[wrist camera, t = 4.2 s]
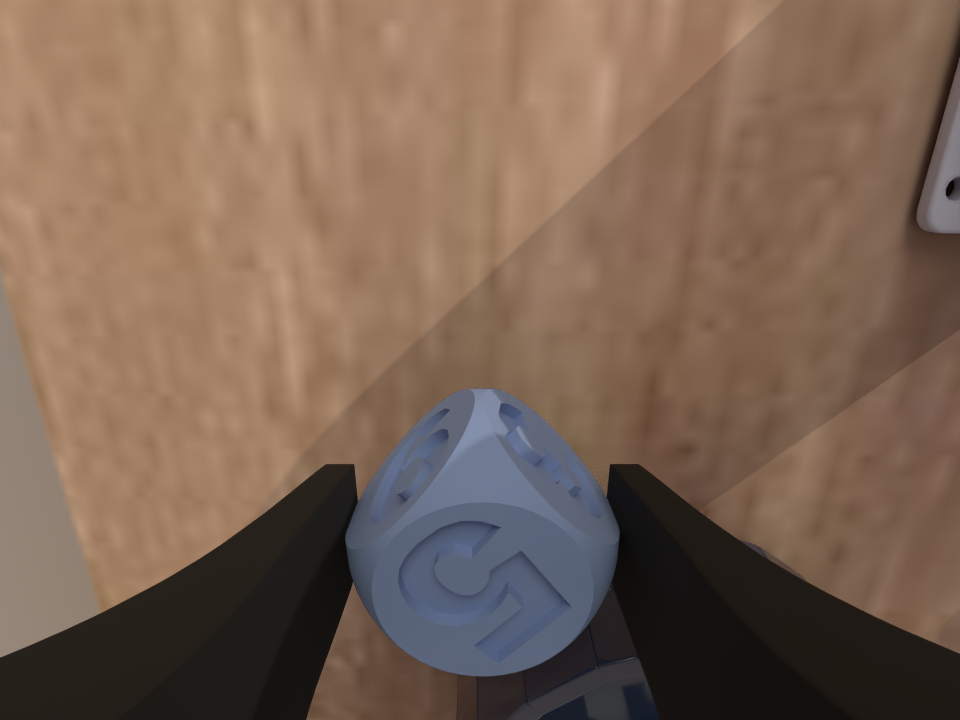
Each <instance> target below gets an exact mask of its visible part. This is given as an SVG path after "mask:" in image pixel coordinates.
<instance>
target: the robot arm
mask: <svg viewBox="0 0 960 720" xmlns="http://www.w3.org/2000/svg"><path fill="white" fill-rule="evenodd" d="M952 180H953V181H954V189H953V191H952V193H951V195H949V196H948V197H947V196H946V188H947V186H948V184H949V182H951V181H952ZM916 220H917V222H918V225H919V226H920V227H921V228H922V229H923V230H924V231H929V232H935V233H960V59H959V62H958V66H957V69H956V73H955V77H954V80H953V84H952V87H951V91H950V94H949V98H948V102H947V105H946V109H945V112H944V116H943V119H942V123H941V127H940V130H939V134H938V137H937V141H936V144H935V148H934V152H933V155H932V159H931V162H930V166H929V169H928V173H927V177H926V180H925V184H924V187H923V191H922V194H921V198H920V202H919V205H918V209H917V216H916ZM607 499H608V501H609V504H610V506H611V509H612V511H613V514H614V517H615V519H616V522H617V524H618V527H619V531H620V536H619V548H618V558H617V563H616V568H615V572H614V575H613V578H612V581H611V582H612V586H613V589H614V592H615V595H616V597H617V600H618V603H619V606H620V609H621V611H622V614H623V617H624V620H625V622H626V625H627V628H628V631H629V633H630V636H631V639H632V641H633V644H634V647H635V650H636V652H637V655H638V658H639V661H640V663H641V666H642V669H643V671H644V674H645V677H646V680H647V682H648V685H649V688H650V691H651V694H652V697H653V700H654V703H655V706H656V710H657V713H658V716H659V720H960V654H959V653H957V652H954V651H952V650H949V649H947V648H945V647H942V646H940V645H938V644H935V643H933V642H931V641H928V640H926V639H924V638H921V637H919V636H917V635H914V634H912V633H909V632H907V631H905V630H903V629H900V628H898V627H896V626H894V625H892V624H889V623H887V622H885V621H883V620H881V619H879V618H876V617H874V616H872V615H870V614H868V613H866V612H864V611H862V610H860V609H858V608H856V607H854V606H852V605H850V604H848V603H846V602H844V601H842V600H840V599H838V598H836V597H834V596H832V595H830V594H828V593H826V592H824V591H822V590H821V589H819V588H817V587H815V586H813V585H811V584H810V583H808V582H806V581H804V580H802V579H801V578H799V577H797V576H796V575H794V574H792V573H790V572H789V571H787V570H785V569H784V568H782V567H780V566H779V565H777V564H775V563H773V562H772V561H770V560H768V559H767V558H765V557H764V556H762V555H761V554H759V553H757V552H756V551H754V550H753V549H751V548H750V547H748V546H747V545H745V544H744V543H742V542H741V541H739V540H738V539H737V538H735V537H734V536H732V535H731V534H729V533H728V532H726V531H725V530H723V529H722V528H721V527H719V526H718V525H717V524H715V523H714V522H712V521H711V520H710V519H708V518H707V517H706V516H704V515H703V514H702V513H700V512H699V511H698V510H696V509H695V508H694V507H693V506H691V505H690V504H689V503H687V502H686V501H685V500H684V499H682V498H681V497H680V496H678V495H677V494H676V493H675V492H673V491H672V490H671V489H670V488H668V487H667V486H666V485H665V484H663V483H662V482H661V481H660V480H658V479H657V478H656V477H655V476H653V475H652V474H651V473H650V472H648V471H647V470H646V469H644V468H643V467H642V466H640V465H639V464H610V471H609V481H608V491H607ZM357 503H358V499H357V488H356V478H355V468H354V464H326V465H325V466H323V467H322V468H320V469H319V470H318V471H317V472H315V473H314V474H313V475H312V476H310V477H309V478H308V479H307V480H305V481H304V482H303V483H302V484H300V485H299V486H298V487H297V488H296V489H294V490H293V491H292V492H291V493H289V494H288V495H287V496H286V497H284V498H283V499H282V500H281V501H279V502H278V503H277V504H276V505H274V506H273V507H272V508H271V509H269V510H268V511H267V512H265V513H264V514H263V515H262V516H260V517H259V518H257V519H256V520H255V521H253V522H252V523H251V524H249V525H248V526H246V527H245V528H244V529H242V530H241V531H239V532H238V533H237V534H235V535H234V536H233V537H231V538H230V539H228V540H227V541H226V542H224V543H223V544H221V545H220V546H218V547H217V548H215V549H214V550H212V551H211V552H209V553H208V554H206V555H205V556H203V557H202V558H200V559H198V560H197V561H195V562H194V563H192V564H190V565H189V566H187V567H185V568H184V569H182V570H180V571H179V572H177V573H175V574H174V575H172V576H170V577H169V578H167V579H165V580H163V581H162V582H160V583H158V584H156V585H154V586H152V587H150V588H148V589H147V590H145V591H143V592H141V593H139V594H137V595H135V596H133V597H131V598H129V599H127V600H126V601H124V602H122V603H120V604H118V605H116V606H114V607H112V608H110V609H108V610H107V611H105V612H103V613H100V614H98V615H96V616H94V617H92V618H90V619H88V620H86V621H84V622H81V623H79V624H77V625H75V626H73V627H71V628H69V629H66V630H64V631H62V632H60V633H57V634H55V635H53V636H50V637H48V638H46V639H44V640H41V641H39V642H37V643H34V644H32V645H30V646H28V647H25V648H23V649H20V650H18V651H15V652H13V653H11V654H8V655H6V656H3V657H1V658H0V720H306V718H307V714H308V711H309V708H310V705H311V701H312V698H313V695H314V692H315V689H316V686H317V683H318V680H319V677H320V675H321V672H322V669H323V666H324V663H325V661H326V658H327V655H328V652H329V649H330V647H331V644H332V641H333V638H334V635H335V633H336V630H337V627H338V624H339V622H340V619H341V616H342V613H343V610H344V607H345V604H346V602H347V599H348V596H349V593H350V590H351V587H352V584H353V579H352V576H351V572H350V568H349V563H348V556H347V549H346V541H345V536H346V532H347V529H348V527H349V524H350V521H351V519H352V516H353V513H354V511H355V508H356V505H357Z"/></svg>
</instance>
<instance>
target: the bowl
mask: <svg viewBox="0 0 960 720" xmlns="http://www.w3.org/2000/svg"><path fill="white" fill-rule="evenodd" d="M739 541H741V540H739ZM741 542H742V543H744V544H745V545H747V546H748V547H750V548H751V549H753V550H754V551H756V552H757V553H759V554H761V555H762V556H764V557H765V558H767V559H768V560H770V561H772V562H773V563H775V564H777V565H779V566H780V567H782V568H784V569H785V570H787V571H789V572H790V573H792V574H794V575H796V576H797V577H799V578H801V579H802V580H804V581H806V580H805V579H804V578H803V577H802V576H801V575H800V574H799V573H797V572H796V571H794V570H793V569H791V568H790V567H788V566H787V565H786V564H784V563H783V562H781V561H780V560H778V559H777V558H775V557H774V556H772V555H771V554H769V553H768V552H767V551H765V550H764V549H762V548H761V547H759V546H757V545H755V544H751V543H748V542H744V541H741ZM806 582H807V581H806ZM457 720H659V716H658V713H657V710H656V706H655V703H654V700H653V697H652V694H651V691H650V688H649V685H648V682H647V680H646V677H645V674H644V671H643V669H642V666H641V663H640V661H639V658H638V655H637V652H636V650H635V647H634V644H633V641H632V639H631V636H630V633H629V631H628V628H627V625H626V622H625V620H624V617H623V614H622V611H621V609H620V606H619V603H618V600H617V597H616V595H615V592H614V589H613V586H612V582H611V584H610V587H609V589H608V591H607V594H606V596H605V598H604V600H603V602H602V604H601V606H600V607H599V609H598V611H597V612H596V614H595V615H594V617H593V618H592V620H591V621H590V622H589V624H588V625H587V626H586V628H585V629H584V630H583V631H582V632H581V633H580V634H579V636H578V637H577V638H576V639H575V640H574V641H573V642H571V643H570V644H569V645H568V646H567V647H566V648H564V649H563V650H562V651H560V652H559V653H557V654H556V655H554V656H553V657H551V658H550V659H548V660H546V661H544V662H542V663H541V664H538V665H536V666H534V667H531V668H528V669H525V670H522V671H519V672H515V673H510V674H505V675H497V676H467V675H460V674H458V696H457Z"/></svg>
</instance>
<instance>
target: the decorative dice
mask: <svg viewBox="0 0 960 720" xmlns="http://www.w3.org/2000/svg"><path fill="white" fill-rule="evenodd" d="M619 536H620V531H619V527H618V524H617V522H616V519H615V517H614V514H613V511H612V509H611V506H610V504H609V501H608V499H607V497H606V496H605V494H604V492H603V490H602V489H601V487H600V486H599V484H598V483H597V481H596V480H595V478H594V477H593V475H592V474H591V472H590V471H589V470H588V468H587V467H586V466H585V464H584V463H583V462H582V460H581V459H580V458H579V457H578V455H577V454H576V453H575V452H574V451H573V450H572V448H571V447H570V446H569V445H568V444H567V443H566V442H565V440H564V439H563V438H562V437H561V436H560V435H559V434H558V433H557V432H556V431H555V430H554V429H553V428H552V427H551V426H550V425H549V424H548V423H547V422H546V421H545V420H544V419H543V418H541V417H540V416H539V415H538V414H537V413H536V412H535V411H533V410H532V409H531V408H530V407H528V406H527V405H526V404H524V403H523V402H522V401H520V400H519V399H517V398H515V397H514V396H512V395H510V394H508V393H506V392H504V391H502V390H498V389H482V388H476V389H464V390H460V391H458V392H456V393H453V394H452V395H450V396H448V397H447V398H445V399H444V400H443V401H441V402H440V403H439V404H437V405H436V406H435V407H434V408H432V409H431V410H430V411H429V412H428V413H427V414H426V415H425V416H424V417H422V418H421V419H420V420H419V421H418V422H417V423H416V424H415V425H414V426H413V428H412V429H411V430H410V431H409V432H408V433H407V434H406V435H405V436H404V437H403V439H402V440H401V441H400V442H399V443H398V444H397V446H396V447H395V448H394V449H393V451H392V452H391V453H390V454H389V456H388V457H387V458H386V460H385V461H384V462H383V464H382V465H381V466H380V468H379V469H378V471H377V472H376V473H375V475H374V476H373V478H372V479H371V481H370V482H369V484H368V486H367V487H366V489H365V491H364V492H363V494H362V496H361V497H360V499H359V501H358V503H357V505H356V508H355V511H354V513H353V516H352V519H351V521H350V524H349V527H348V529H347V532H346V536H345V541H346V549H347V556H348V563H349V568H350V572H351V576H352V579H353V582H354V585H355V587H356V590H357V592H358V594H359V596H360V598H361V600H362V602H363V604H364V606H365V608H366V609H367V611H368V613H369V614H370V616H371V617H372V619H373V620H374V621H375V623H376V624H377V625H378V627H379V628H380V629H381V630H382V631H383V632H384V633H385V634H386V636H387V637H388V638H389V639H390V640H391V641H393V642H394V643H395V644H396V645H397V646H398V647H399V648H401V649H402V650H403V651H405V652H406V653H408V654H409V655H411V656H412V657H414V658H415V659H417V660H419V661H421V662H423V663H425V664H427V665H429V666H432V667H434V668H437V669H440V670H443V671H446V672H450V673H455V674H460V675H467V676H497V675H505V674H510V673H515V672H519V671H522V670H525V669H528V668H531V667H534V666H536V665H538V664H541V663H542V662H544V661H546V660H548V659H550V658H551V657H553V656H554V655H556V654H557V653H559V652H560V651H562V650H563V649H564V648H566V647H567V646H568V645H569V644H570V643H571V642H573V641H574V640H575V639H576V638H577V637H578V636H579V634H580V633H581V632H582V631H583V630H584V629H585V628H586V626H587V625H588V624H589V622H590V621H591V620H592V618H593V617H594V615H595V614H596V612H597V611H598V609H599V607H600V606H601V604H602V602H603V600H604V598H605V596H606V594H607V591H608V589H609V587H610V584H611V581H612V578H613V575H614V572H615V568H616V563H617V558H618V548H619Z"/></svg>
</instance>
